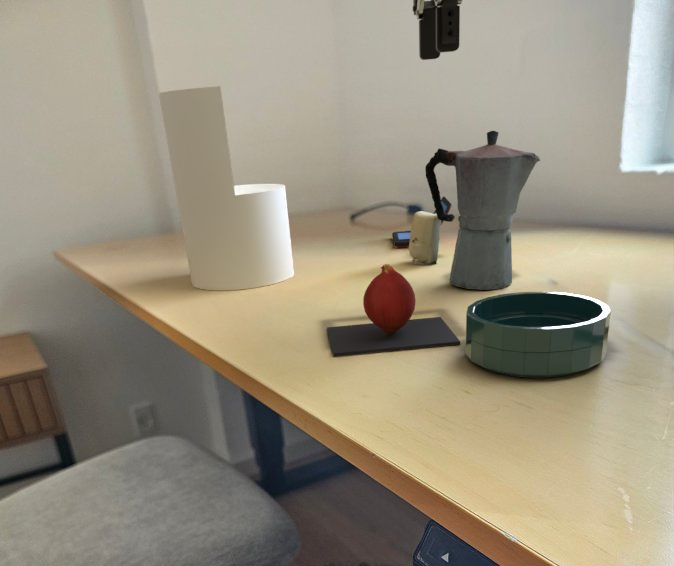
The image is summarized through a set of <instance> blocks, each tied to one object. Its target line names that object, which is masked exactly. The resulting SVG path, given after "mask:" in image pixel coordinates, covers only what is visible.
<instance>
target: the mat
mask: <svg viewBox="0 0 674 566" xmlns="http://www.w3.org/2000/svg"><path fill="white" fill-rule="evenodd" d="M326 330H327V334H328V340H329V343H330V348H331V352H332V357H334V358H335V357H344V356H346V357H347V356H356V355H365V354H367V355H368V354H376V353H387V352H399V351H406V350H407V351H408V350H417V349H429V348H439V347H440V348H441V347H451V346H459V345H461V340H460V339H459V338H458V336H457V335H456V334H455V333H454V331H453V330H452V329H451V327H450V326H449V325H448V324H447V323H446V321H445V320H444V319H443V318H442V316H435V317H434V316H433V317H425V318H412V319H409V321H408V322H407V323H406V324H405V325H404V326H403V327H402V328H400V329H399V330H398V331H396V332H395V333H394V334H386V333H385V332H384V331H383V330H382V329H380V328H379V327H378V326H376V325H375V324H374V323H373V322H371V323H359V324H349V325H338V326H330V327H326Z"/></svg>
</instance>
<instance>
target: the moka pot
mask: <svg viewBox="0 0 674 566" xmlns="http://www.w3.org/2000/svg"><path fill="white" fill-rule="evenodd" d="M499 134H500V132H498V131H496V130H489V131H488V132H486V140H487V144H485V145H482V146H478V147H474V148H472V149H467V150H447V149H443V148H438V149H437V151H436V152H434V155H433V156H432V157H431V158H430V159H429V161H428V162H427V163H426V165H425V178H426V182H427V185H428V188H429V191H430V194H431V198H432V201H433V206H434V210H436V213H437V217H438V219H439V220H443V221H444V222H450V223H452V222H453V221H454V220H455V217H456V216H455V215H454V214H453V213H448V214H446V213H445V212H444V209H443V206H442V204H441V202H440V201H441V199H442V197H441V194H440V193H441V192H440V190H439V185H438V180H437V176H436V173H435V168H436V166H437V165H439V164H442V165H444V166H448V167H454V168H455V178H456V179H455V181H456V199H457V211H458V214H459V215H458V226H459V229H458V233H457V237H456V242H455V248H454V253H453V258H452V264H451V268H450V273H449V279H448V280H449V282H450V284H451V285H453V286H455V287H457V288H462V289H467V290H479V291H491V290H500V289H504V288H507V287H509V286H511V284H513V283H512V282H513V260H512V256H513V255H512V230H511V229H510V228H511V227H512V225H513V220H514V219H513V215H514V214H516V213H517V209H518V204H519V200H520V195H521V193H522V190H523V189H524V187H525V185H526V183H527V181H528V179H529V177H530V175H531V173H532V172H533V169H534V168H535V166H536V164H538V162H540V161H541V158H540V156H539V155H537V154H536V153H534V152H528V151H524V150H518V149H514V148H512V147H511V148H510V147H506V146H502V145H500V144H497V141H498V137H499Z"/></svg>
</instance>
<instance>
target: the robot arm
mask: <svg viewBox="0 0 674 566" xmlns="http://www.w3.org/2000/svg"><path fill="white" fill-rule="evenodd" d="M412 1H413V2H412V3H413V5H412V12H413V15H414V16H416V20H418V51H419V52H418V53H419V59H420V60H422V61H427V60H428V61H429V60H436V59H439V58H440V56H441V53H452V52H455V51H458V49H459V48H460V31H461V29H460V25H461V22H460V20H461V19H460V17H461V15H460V14H461V13H460V12H461V6H460V5H462V3H463V0H412Z"/></svg>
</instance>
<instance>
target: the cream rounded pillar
mask: <svg viewBox="0 0 674 566" xmlns="http://www.w3.org/2000/svg"><path fill="white" fill-rule="evenodd" d="M441 227H442V225H441V220H439V219H438V217H437V214H433V213H432V212H427V211H423V210H420V211H416V212H415V213H414V215H413V219H412V224H411V228H410V231H411V233H410V243H409V247H408V253H409V255H410V256H411V258H412V260H411V261H412V263H413V264H414V265H425V266H432V265H437V262H438V257H439V248H440V247H439V245H440V237H441V236H440V234H441Z"/></svg>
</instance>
